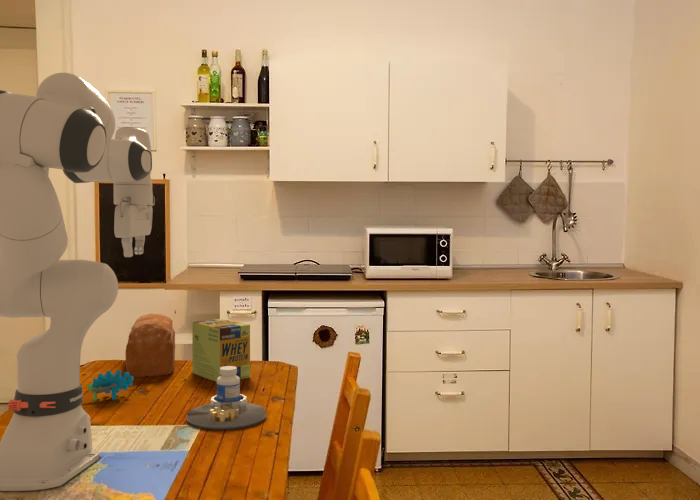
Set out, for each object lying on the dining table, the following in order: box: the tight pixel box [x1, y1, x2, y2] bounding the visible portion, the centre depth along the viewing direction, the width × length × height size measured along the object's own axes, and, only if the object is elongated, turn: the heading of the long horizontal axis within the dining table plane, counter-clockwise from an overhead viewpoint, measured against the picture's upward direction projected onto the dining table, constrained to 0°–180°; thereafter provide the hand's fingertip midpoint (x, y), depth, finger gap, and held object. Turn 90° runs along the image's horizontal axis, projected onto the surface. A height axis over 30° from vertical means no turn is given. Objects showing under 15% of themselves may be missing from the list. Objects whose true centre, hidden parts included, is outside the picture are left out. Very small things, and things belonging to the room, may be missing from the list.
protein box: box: [191, 318, 251, 383], centre depth 199 cm, size 10×15×16 cm
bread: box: [124, 313, 176, 378], centre depth 209 cm, size 14×26×16 cm, turn 13°
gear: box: [87, 369, 134, 402], centre depth 173 cm, size 11×6×10 cm
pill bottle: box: [216, 366, 241, 402], centre depth 162 cm, size 6×5×10 cm
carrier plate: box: [186, 393, 267, 431], centre depth 159 cm, size 18×18×4 cm
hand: (133, 255), depth 163 cm, fingers open, 8 cm apart
